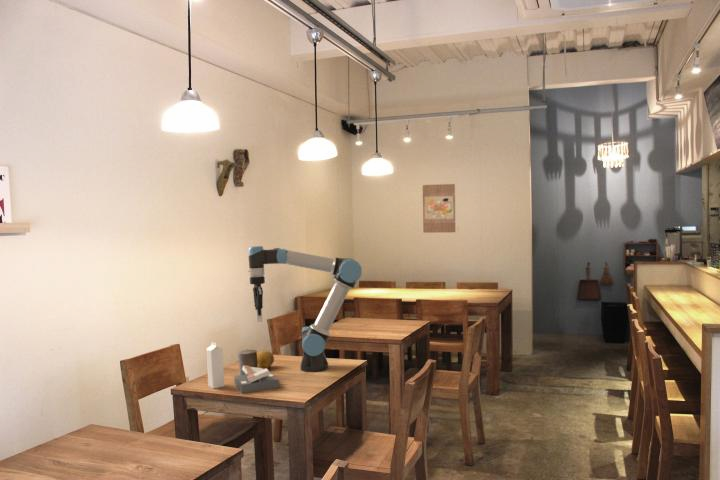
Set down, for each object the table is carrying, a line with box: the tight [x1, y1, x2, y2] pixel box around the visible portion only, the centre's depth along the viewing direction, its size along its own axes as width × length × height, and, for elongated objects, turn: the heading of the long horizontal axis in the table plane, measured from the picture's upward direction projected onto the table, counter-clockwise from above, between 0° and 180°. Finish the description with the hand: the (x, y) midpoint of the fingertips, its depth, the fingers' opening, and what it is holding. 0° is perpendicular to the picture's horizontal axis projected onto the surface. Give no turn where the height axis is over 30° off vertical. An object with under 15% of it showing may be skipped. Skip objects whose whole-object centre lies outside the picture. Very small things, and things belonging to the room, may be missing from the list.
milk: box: [205, 341, 225, 389], centre depth 298 cm, size 6×6×22 cm
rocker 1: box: [242, 365, 263, 372], centre depth 301 cm, size 10×5×2 cm, turn 112°
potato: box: [257, 349, 275, 370], centre depth 331 cm, size 10×12×10 cm
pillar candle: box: [237, 349, 258, 376], centre depth 313 cm, size 10×10×15 cm
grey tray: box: [233, 371, 280, 394], centre depth 295 cm, size 18×19×5 cm
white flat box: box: [247, 368, 270, 383], centre depth 289 cm, size 10×5×2 cm, turn 112°
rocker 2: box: [244, 368, 266, 377], centre depth 295 cm, size 10×5×2 cm, turn 112°
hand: (259, 321), depth 310 cm, fingers closed
